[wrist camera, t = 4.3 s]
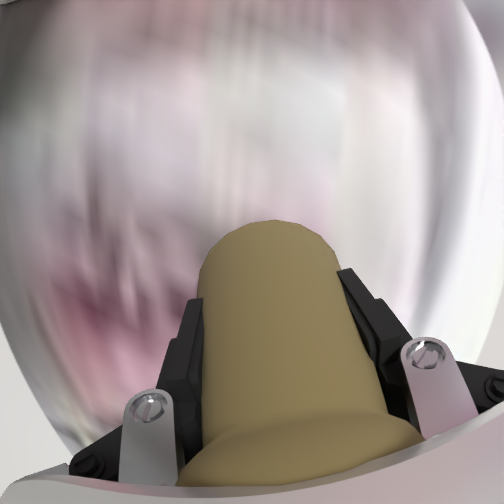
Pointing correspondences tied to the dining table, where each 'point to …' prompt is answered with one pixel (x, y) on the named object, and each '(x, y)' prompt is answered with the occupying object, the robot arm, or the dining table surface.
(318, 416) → the cork
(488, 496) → the robot arm
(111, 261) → the dining table surface
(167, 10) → the dining table surface
